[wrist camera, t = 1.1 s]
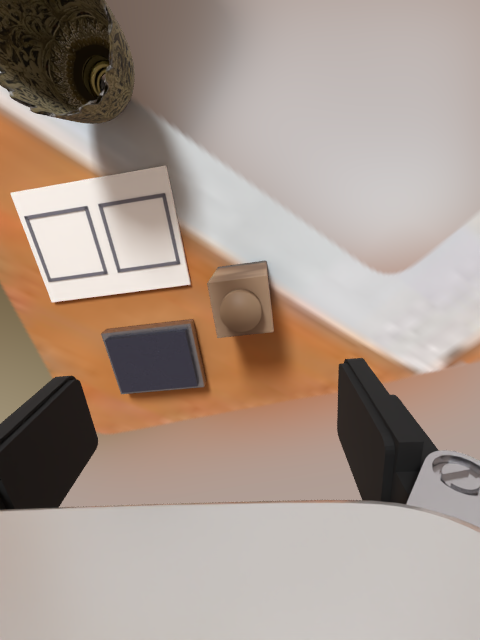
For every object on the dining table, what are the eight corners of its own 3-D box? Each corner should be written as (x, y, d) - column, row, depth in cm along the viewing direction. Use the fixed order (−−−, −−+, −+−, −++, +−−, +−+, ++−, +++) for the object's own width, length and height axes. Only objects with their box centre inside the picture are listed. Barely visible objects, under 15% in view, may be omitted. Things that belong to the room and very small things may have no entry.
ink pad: (193, 319, 30) (189, 326, 28) (206, 380, 32) (203, 390, 30) (107, 328, 31) (98, 336, 29) (126, 387, 33) (118, 397, 32)
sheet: (166, 165, 25) (165, 165, 25) (191, 283, 28) (190, 284, 28) (12, 193, 27) (9, 192, 26) (53, 301, 30) (51, 302, 30)
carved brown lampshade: (102, -5, 21) (16, -115, 14) (178, 86, 23) (138, 30, 16) (44, 85, 24) (-56, 31, 16) (118, 162, 25) (57, 146, 18)
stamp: (266, 260, 27) (267, 278, 21) (271, 306, 29) (274, 337, 22) (218, 267, 28) (204, 286, 21) (225, 312, 29) (215, 343, 23)
